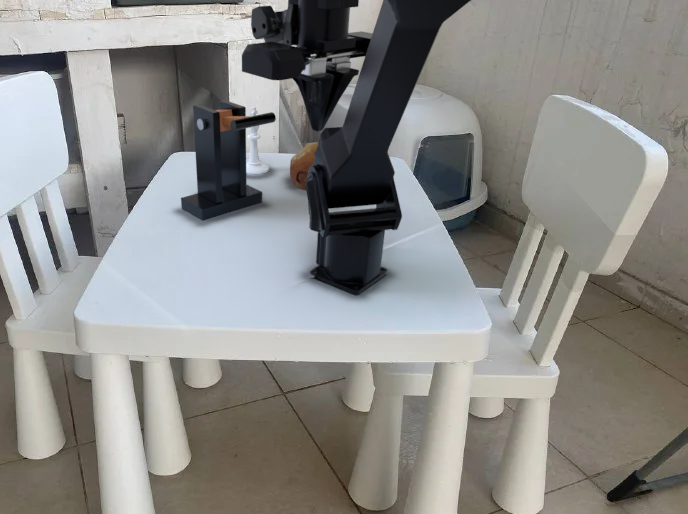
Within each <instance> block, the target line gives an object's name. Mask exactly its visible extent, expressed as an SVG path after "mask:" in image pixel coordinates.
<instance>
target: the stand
mask: <svg viewBox="0 0 688 514" xmlns="http://www.w3.org/2000/svg"><path fill="white" fill-rule="evenodd" d="M246 108H247V107H246V106H243V105H241V104H237V103H235V102H232V101H229V100H226V99H223V100H219V101H218V110H232V116H247V114H246V112H247V109H246ZM192 110H193V111H192V112H193V113H192V114H193V115H192V116H193V131H194V133H193V135H194V149H195V151H194V152H195V167H196V168H195V169H196V185H197V193H193V194H189V195H186V196H182V197H181V198H180V203H181V205H180V206H181V210H183V211H184V212H186V213H188V214H190V215H192V216H193V217H195V218H197V219H198V220H200V221H202V222H203V221H207V220H210V219H214V218H217V217H220V216H223V215H227V214H230V213H233V212H236V211H240V210H243V209H246V208H249V207H252V206H256V205H258V204H262V203H263V191H261V190H260V189H257V188H255V187H253V186H252V185H249V184H247V174H246V163H247V128H245V129H240V130H235V131H233V130H228V131H223V132H220V112H218V111H216V110H217V109H214V108H209V107H208V106H205V105H202V104H195V105H192Z"/></svg>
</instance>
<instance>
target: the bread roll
mask: <svg viewBox="0 0 688 514" xmlns="http://www.w3.org/2000/svg"><path fill="white" fill-rule="evenodd" d="M318 142H319V141H318ZM318 142H317V141H316V142H315V141H314V142H306V143H305V144H304V145H303V147H302V148H301V149H299V150H298V151H297V152H296V153H295V154H294V155H293V156H292V157H291V158H290V163H289V178H290V180H291V183H292V184H293V186H294V187H296V188H297V189H300V190H303V191H306V184H305V181H306V179H307V175H308V171H309V168H310V166H312V165H313V161H314V159H315V157H314V153H315V151H316V149H317V147H318Z"/></svg>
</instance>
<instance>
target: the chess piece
mask: <svg viewBox="0 0 688 514" xmlns="http://www.w3.org/2000/svg"><path fill="white" fill-rule="evenodd" d="M249 113H250V114H249V116H255V115H258V110H257V107H256V106H252V107H251V112H249ZM259 128H260V125H259V126H254V127H249V128H248V129H249V132H250V133H248V134H246V139H248V140H250V145H249V154H248V160H247V159H246V175H263V174H265V173H268V172H269V171H270V167H269V165H268V164H266V163H264V162H262V160H260V155H259V154H260V153H259V146H258V140H260V139H261V138H262V136H261V134H259V133H258V132H259Z"/></svg>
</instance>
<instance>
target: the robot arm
mask: <svg viewBox="0 0 688 514" xmlns="http://www.w3.org/2000/svg"><path fill="white" fill-rule="evenodd" d="M471 1H472V0H382V4H381V7H380V9H379V13H378V16H377V19H376V22H375V25H374V27H373V31H372V32H368V31H367V32H366V31H353V32H349V28H350V13H351V8H358V7H359V5H360V4H359V3H360V0H288V1H287V9H284V10H281V11H279V10H278V11H275V10H274V9H273V6H272V5H259V6H256V7H255V8H252V9H251V17H250V18H251V19H250V20H251V21H250V27H251V33H252V36H253V38H254V39H255V40H263V41H264V42H257V43H249V44H247V45H246V46H245V47H244V49H243V51H242V53H241V72H242V73H244V74H245V73H246V74H249V75H252V76H256V77H259V78H264V79H267V80H271V81H285V80H291V79H292V80H293V81H294V83H296V85H297V87H298V90H299V92H300V95H301V97H302V101H303V104H304V107H305V111H306V114H307V117H308V120H309V124H310V128H311V130H312V131H314V132H320V134H319V136H318V147H317V149H316V151H315V153H314V157H315V159H314V161H313V165H312V166H310V168H309V171H308V175H307V179H306V181H305V184H306V190H305V192H306V196H307V197H306V198H307V206H308V207H307V209H308V215H309V220H308V221H309V223H308V228H309V230H310V231H313V232H316V233H317V235H316V238H317V239H316V253H315V254H316V255H315V263H316V265H317V266H316V267H314V268H313V269H311V270H310V271H309V274H310V275H311V276H313V278H314V279H317V280H319V281H321V282H324V283H327V284H328V285H332V286H334V287H336V288H338V289H341V290H344V291H346V292H348V293H351V294H353V295H359V294H361V293H362V292H364V291H365V290H366V289H368V288H369V287H370V286H372V285H373V284H375V283H376V282H377V281H379V280H380V279H381V278H384V276H386V275H387V274H388V268H386V267H384V266H382V258H383V252H384V243H385V233H386V231H388V230H392V231H397V230H398V229H399V226H400V223H401V221H402V219H403V212H402V209H401V204H400V201H399V195H398V191H397V186H396V182H395V178H394V177H395V172H396V171H395V169H394V166H393V163H392V160H391V158H390V155H389V149H390V146H391V144H392V142H393V139H394V137H395V135H396V132H397V130H398V128H399V126H400V123H401V121H402V118H403V116H404V114H405V111H406V109H407V107H408V104H409V102H410V101H411V100H410V99H411V97H412V95H413V92H414V90H415V88H416V86H417V84H418V81H419V80H420V79H419V78H420V76H421V74H422V71H423V69H424V67H425V65H426V63H427V60H428V58H429V55H430V53H431V50H432V48H433V46H434V43H435V42H436V39H437V37H438V34H439V32H440V29H441V28H442V27H443V24H444V22H445V21H448V19H450V18H451V17H452V16H453V15H455V14H456V13H457V12H458V11H460V10H461V9H462V8H463V7H465V6H467V4H469V3H470V2H471ZM356 58H364V59H363V61H362V62H363V63H362V65H361V67H360V70H359V69H356V68H353V67H352V62H351V59H356ZM356 76H358V78H357V81H356V84H355V87H354V90H353V93H352V96H351V100H350V103H349V106H348V109H347V111H346V115H345V118H344V121H343V124H342V126H335V127H334V126H333V127H326V125H327V123H328V122H329V119H330V118H331V116H332V113H333V112H334V110H335V109H336V106H337V105H338V103H339V101H340V100H341V97H342V96H343V94H344V93H345V91H346V90H347V88H348V87H349V85H350V83H351V82H352V80H353V79H354V77H356ZM365 206H367V207H368V206H375V207H374V208H365V209H353V210H351V209H350V210H342V211H341V210H340V211H330V210H331V209H332V210H333V209H343V208H354V207H365Z"/></svg>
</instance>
